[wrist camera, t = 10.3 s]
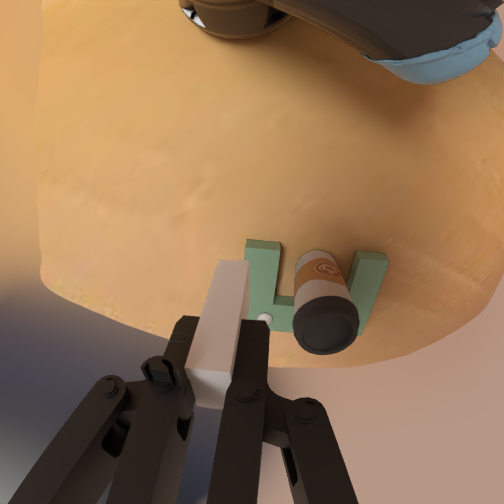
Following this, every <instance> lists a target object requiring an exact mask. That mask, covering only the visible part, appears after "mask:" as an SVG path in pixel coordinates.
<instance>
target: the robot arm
mask: <svg viewBox="0 0 504 504" xmlns="http://www.w3.org/2000/svg"><path fill="white" fill-rule="evenodd" d="M503 3H504V0H179V4H180V6H181V9H182V11H183V12H184V14H185V15H186V16H187V18H188V19H189V20H190V21H191V22H193V23H194V24H195V25H196V26H197V27H199V28H200V29H202V30H203V31H205V32H207V33H209V34H212V35H215V36H218V37H223V38H230V39H246V38H253V37H257V36H261V35H264V34H267V33H269V32H272V31H274V30H276V29H278V28H279V27H281V26H282V25H284V24H285V23H286V22H287V21H288V20H289V19H290V18H291V17H292V16H295V17H297V18H299V19H301V20H303V21H305V22H307V23H309V24H311V25H313V26H315V27H317V28H319V29H321V30H323V31H325V32H327V33H329V34H331V35H332V36H334V37H336V38H338V39H339V40H341V41H343V42H345V43H346V44H348V45H350V46H351V47H353V48H355V49H356V50H358V51H359V52H360V53H361V55H362V56H363V57H364V58H366V59H367V60H369V61H371V62H374V63H376V64H379V65H381V66H383V67H384V68H386V69H387V70H389V71H390V72H392V73H393V74H394V75H396V76H397V77H399V78H400V79H402V80H405V81H408V82H411V83H414V84H419V85H432V84H439V83H443V82H447V81H450V80H453V79H455V78H457V77H460V76H462V75H464V74H466V73H468V72H469V71H471V70H473V69H474V68H476V67H477V66H478V65H480V64H481V63H482V62H483V61H484V60H485V59H486V58H487V57H488V56H489V55H490V52H489V49H490V48H493V47H496V46H497V45H498V43H499V41H500V39H501V35H502V23H501V20H500V18H499V15H498V13H497V11H496V8H497V7H499V6H500V5H501V4H503ZM249 305H250V288H249V261H236V260H219V261H218V264H217V267H216V270H215V273H214V276H213V279H212V282H211V285H210V288H209V291H208V294H207V297H206V300H205V303H204V307H203V310H202V313H201V316H200V317H196V316H185V315H184V316H183V317H182V318H181V319H180V320H179V321H178V322H177V323H176V324H175V327H174V329H173V332H172V335H171V337H170V341H169V342H168V345H167V348H166V350H165V353H164V356H154V357H152V358H149V359H148V360H146V361H145V362H144V363H143V364H142V366H141V367H140V368H141V370H142V372H143V374H144V376H145V378H146V380H142V381H135V382H124V381H123V380H122V379H121V378H120V377H118V376H115V375H107V376H105V377H103V378H101V379H100V380H99V381H97V383H96V384H95V385H94V386H93V388H92V389H91V390H90V391H89V393H88V394H87V395H86V397H85V398H84V399H83V400H82V402H81V403H80V404H79V406H78V407H77V408H76V410H75V411H74V412H73V413H72V415H71V416H70V417H69V419H68V420H67V422H65V424H64V425H63V426H62V428H61V429H60V430H59V432H58V433H57V435H56V436H55V437H54V439H53V440H52V441H51V443H50V444H49V445H48V447H47V448H46V450H45V451H44V452H43V454H42V455H41V456H40V458H39V459H38V461H37V462H36V463H35V465H34V466H33V467H32V469H31V470H30V472H29V473H28V475H27V476H26V477H25V479H24V480H23V482H22V483H21V485H20V486H19V488H18V489H17V491H16V492H15V494H14V495H13V497H12V498H11V500H10V501H9V503H8V504H96V503H97V502H98V500H99V499H100V497H101V495H102V494H103V492H104V491H105V489H106V488H107V486H108V484H109V483H110V481H111V480H112V478H113V477H114V479H113V481H112V485H111V488H110V491H109V495H108V498H107V502H106V504H176V500H177V495H178V490H179V486H180V481H181V476H182V472H183V467H184V462H185V458H186V453H187V449H188V444H189V440H190V435H191V431H192V427H193V422H194V412H193V407H194V403H195V402H196V405H197V406H199V407H207V408H215V409H223V412H222V418H221V423H220V429H219V435H218V440H217V446H216V453H215V458H214V463H213V469H212V475H211V481H210V486H209V492H208V498H207V504H257V496H258V486H259V476H260V465H261V453H262V442H263V441H264V442H266V443H269V444H272V445H275V446H278V447H280V448H281V453H282V456H283V461H284V465H285V469H286V473H287V477H288V481H289V485H290V489H291V493H292V497H293V500H294V504H358V501H357V498H356V495H355V492H354V489H353V486H352V484H351V480H350V478H349V475H348V472H347V469H346V466H345V463H344V460H343V458H342V454H341V452H340V449H339V446H338V443H337V440H336V438H335V435H334V432H333V429H332V426H331V424H330V421H329V418H328V415H327V412H326V410H325V408H324V407H323V405H322V404H321V403H320V402H319V401H317V400H316V399H312V398H309V397H307V398H299V399H296V400H294V401H292V400H289V399H286V398H283V397H281V396H278V395H276V394H275V393H274V392H273V391H272V390H271V389H270V388H269V385H268V383H267V370H268V355H269V337H270V329H269V327H268V325H267V323H266V321H265V320H248V312H249Z"/></svg>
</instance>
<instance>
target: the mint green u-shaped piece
mask: <svg viewBox="0 0 504 504" xmlns="http://www.w3.org/2000/svg"><path fill="white" fill-rule="evenodd" d="M279 258H280V242H271V241H260V240H250V239H247V241H246V246H245V260H244V261H249V288H250V305H249V312H248V320H265V321H266V323H267V325H268V327H269V329H270V331H281V332H294V330H293V326H292V321H293V317H294V297H289V296H278V295H274V293H275V286H276V279H277V272H278V265H279ZM388 264H389V260H388V258H387V257H386V255H385V253H377V252H368V251H358V250H356V253H355V257H354V261H353V264H352V268H351V271H350V275H349V278H348V281H347V285H346V286H347V288H348V292H349V294H350V297H351V299H352V302H353V304H354V305H355V306H356V308H357V310H358V314H359V320H360V324H359V329H358V335H357V336H361V334H362V331H363V329H364V327H365V324H366V322H367V320H368V317H369V315H370V312H371V310H372V307H373V305H374V302H375V300H376V297H377V295H378V292H379V289H380V287H381V284H382V281H383V278H384V276H385V273H386V270H387V267H388Z"/></svg>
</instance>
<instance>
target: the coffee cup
mask: <svg viewBox="0 0 504 504" xmlns="http://www.w3.org/2000/svg"><path fill="white" fill-rule="evenodd" d="M359 324H360V320H359V314H358V310H357V308H356V306H355V305H354V304H353V302H352V299H351V297H350V294H349V292H348V288H347V286H346V284H345V281H344V279H343V277H342V275H341V272H340V270H339V269H338V267H337V265H336V262H335V260H334V259H333V257H332V256H331V255H330V254H328V253H326V252H324V251H320V250H313V251H309V252H307V253H305V254H304V255H303V256H302V257H301V258H300V259H299V260H298V262H297V264H296V268H295V284H294V317H293V321H292V326H293V330H294V336H295V338H296V340H297V341H298V342H299V344H300V346H301V347H302V348H303V349H304V350H306V351H307V352H309V353H312V354H316V355H329V354H334V353H337V352H340V351H342V350H344V349H346V348H347V347H348V346H350V345H351V344H352V343H353V342H354V340H355V339H356V337H357V335H358V329H359Z"/></svg>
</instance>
